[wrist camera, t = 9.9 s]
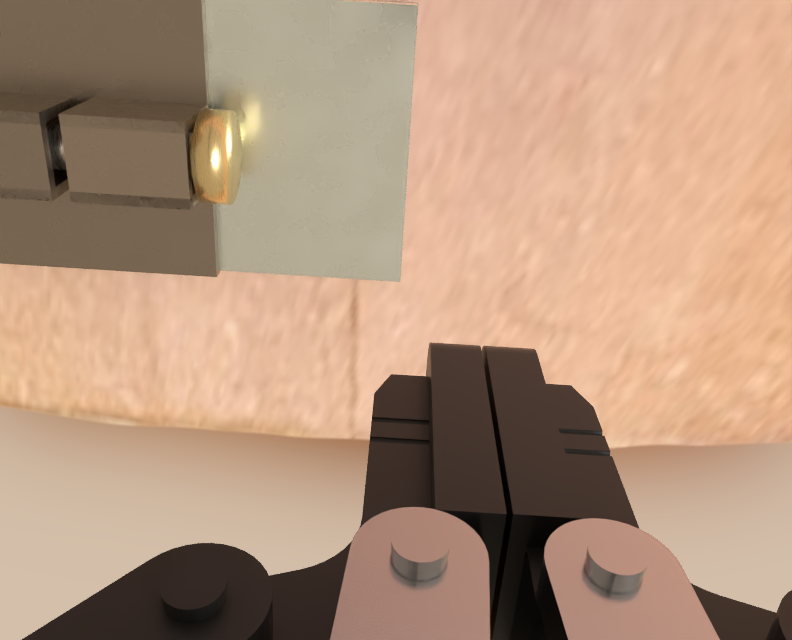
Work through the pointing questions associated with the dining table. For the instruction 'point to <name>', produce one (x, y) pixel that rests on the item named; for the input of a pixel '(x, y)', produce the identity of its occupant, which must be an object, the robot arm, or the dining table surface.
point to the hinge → (175, 117)
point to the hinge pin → (196, 154)
